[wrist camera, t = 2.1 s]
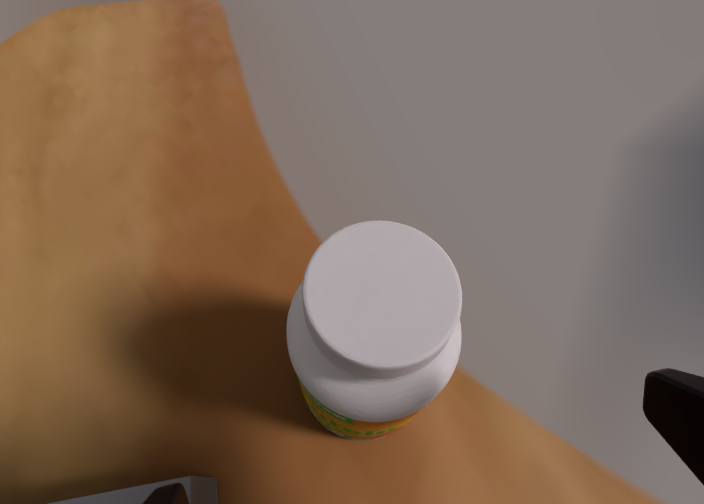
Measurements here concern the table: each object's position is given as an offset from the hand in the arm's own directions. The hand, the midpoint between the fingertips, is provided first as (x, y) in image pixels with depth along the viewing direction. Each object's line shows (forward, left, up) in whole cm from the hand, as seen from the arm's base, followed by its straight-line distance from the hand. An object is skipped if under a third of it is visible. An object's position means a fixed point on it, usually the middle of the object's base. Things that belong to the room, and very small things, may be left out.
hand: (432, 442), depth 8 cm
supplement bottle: (+4, 0, -11) cm, 11 cm away
